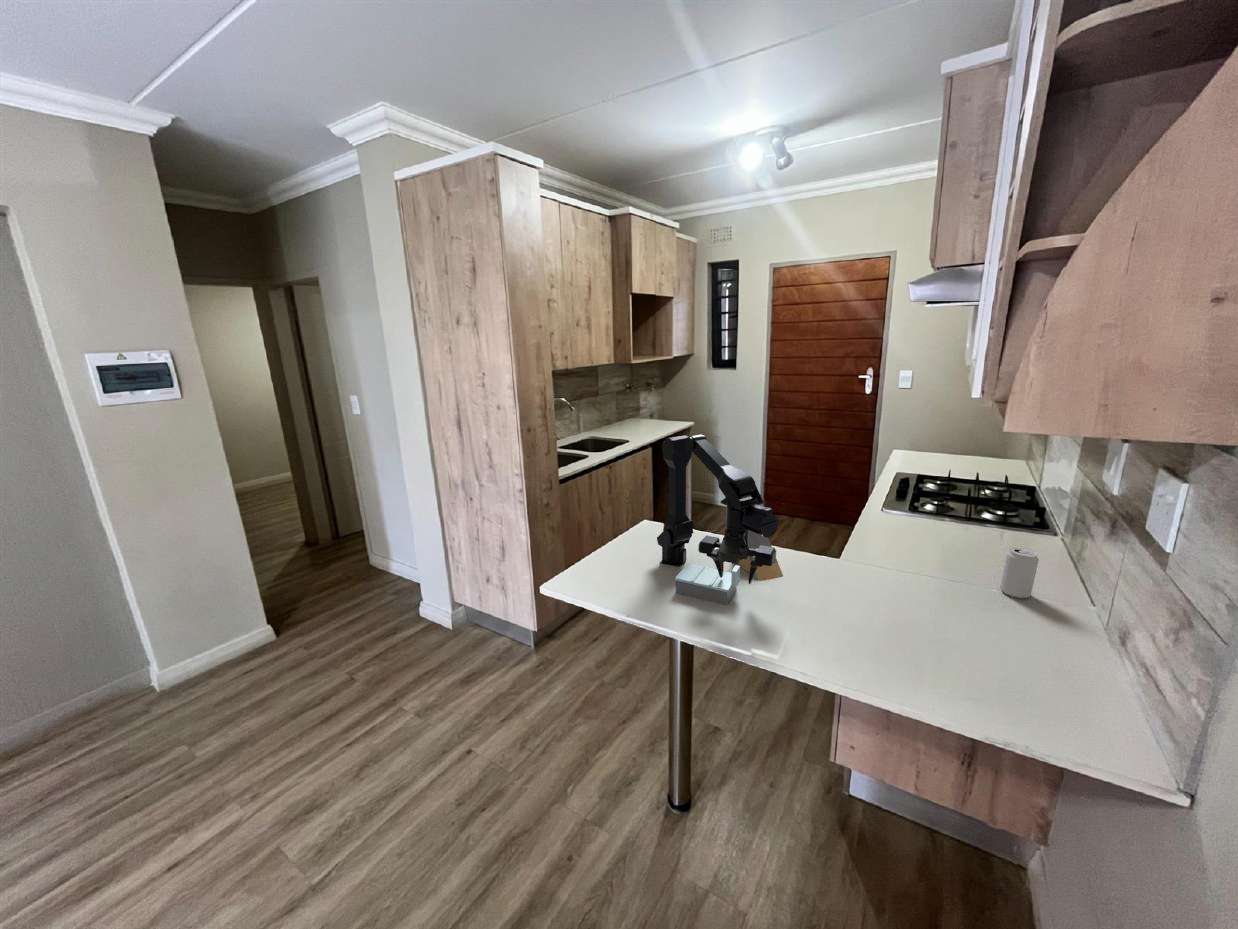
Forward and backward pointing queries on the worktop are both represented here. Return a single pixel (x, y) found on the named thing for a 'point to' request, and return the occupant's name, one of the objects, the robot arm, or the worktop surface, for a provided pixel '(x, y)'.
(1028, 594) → the beverage can
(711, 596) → the tub
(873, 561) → the worktop surface
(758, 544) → the sandwich container
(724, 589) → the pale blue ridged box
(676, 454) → the robot arm
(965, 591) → the worktop surface
